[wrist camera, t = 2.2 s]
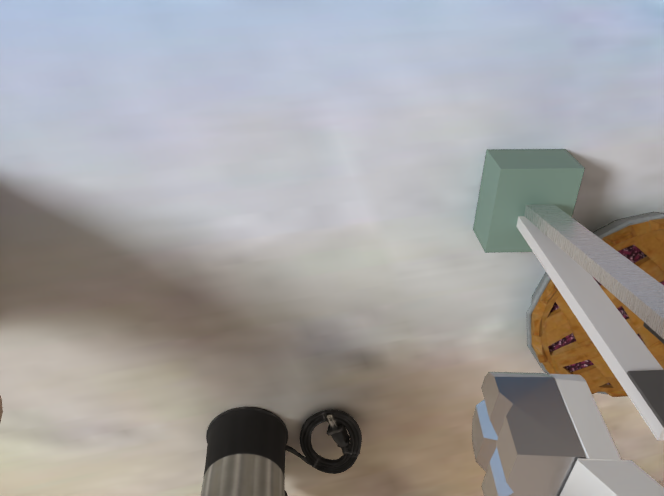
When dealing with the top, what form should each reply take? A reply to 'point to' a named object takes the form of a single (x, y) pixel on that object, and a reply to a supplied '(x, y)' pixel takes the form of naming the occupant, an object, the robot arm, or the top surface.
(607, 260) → the tongs arm
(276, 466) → the milk frother
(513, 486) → the robot arm
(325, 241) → the top surface
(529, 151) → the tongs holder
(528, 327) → the pie
